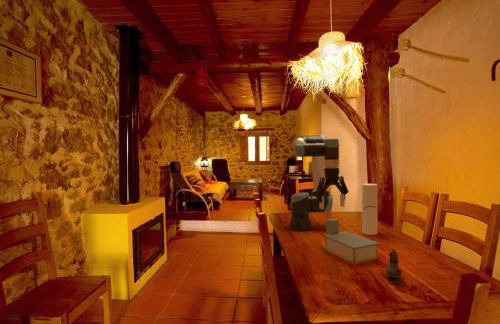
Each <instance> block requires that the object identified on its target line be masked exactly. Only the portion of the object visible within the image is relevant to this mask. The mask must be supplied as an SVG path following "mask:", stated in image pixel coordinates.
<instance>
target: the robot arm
mask: <svg viewBox="0 0 500 324" xmlns="http://www.w3.org/2000/svg"><path fill="white" fill-rule="evenodd" d="M291 143H292V144H291V147H292V149H293V150H294V156H295V157H297V158H306V157H310V158H311V166H312V167H311V169H312V187H313V190H312V191H311V194H310V193H309V192H303V191H302V192H297V193H294V194H292V195H291V198H290V199H291V201H290V203H291V216H290V220H289V224H288V228H289V229H290V230H291V231H292V230H293V231H296V232H298V231H299V232H307V231H311V230H313V224H312V221H311V218H310V213H323V214H324V213H330V212H331V211H332V209H333V203H334V200H333V199H334V198H333V195H332V194H331V193H330V191H329V190H328V188H329V187H330V186H335V187H336V188H337V190H338V191H339V192H340V193H339V207H343V208H344V207H346V206H345V205H346V195H347V194H349V189H348V187H347V184H346V182H345V179H344V178H345V177H344V176H342V175H340V168H339V167H340V140H339V138H335V137H334V138H327V137H326V135H324V134H323V135H322V134H317V135H316V134H315V135H300V136H297V137H296V138H294V139H293V141H292V142H291Z"/></svg>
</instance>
